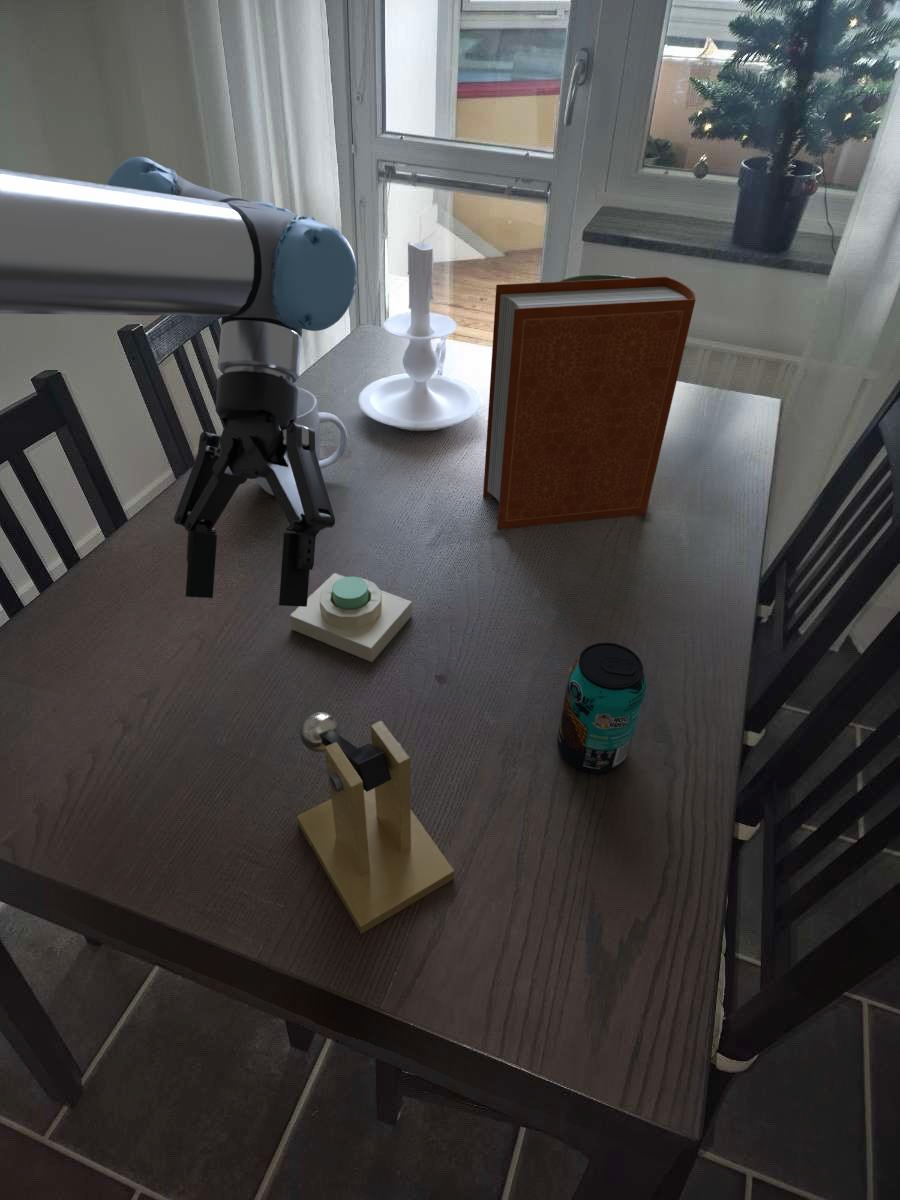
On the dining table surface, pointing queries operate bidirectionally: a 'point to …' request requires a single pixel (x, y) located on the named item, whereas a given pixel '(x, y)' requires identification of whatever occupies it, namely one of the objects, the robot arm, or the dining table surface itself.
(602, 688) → the beverage can
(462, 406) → the candlestick
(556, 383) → the book
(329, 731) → the switch lever
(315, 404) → the mug
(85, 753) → the dining table surface
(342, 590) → the light button
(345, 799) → the switch bracket
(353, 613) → the switch box
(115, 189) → the robot arm
